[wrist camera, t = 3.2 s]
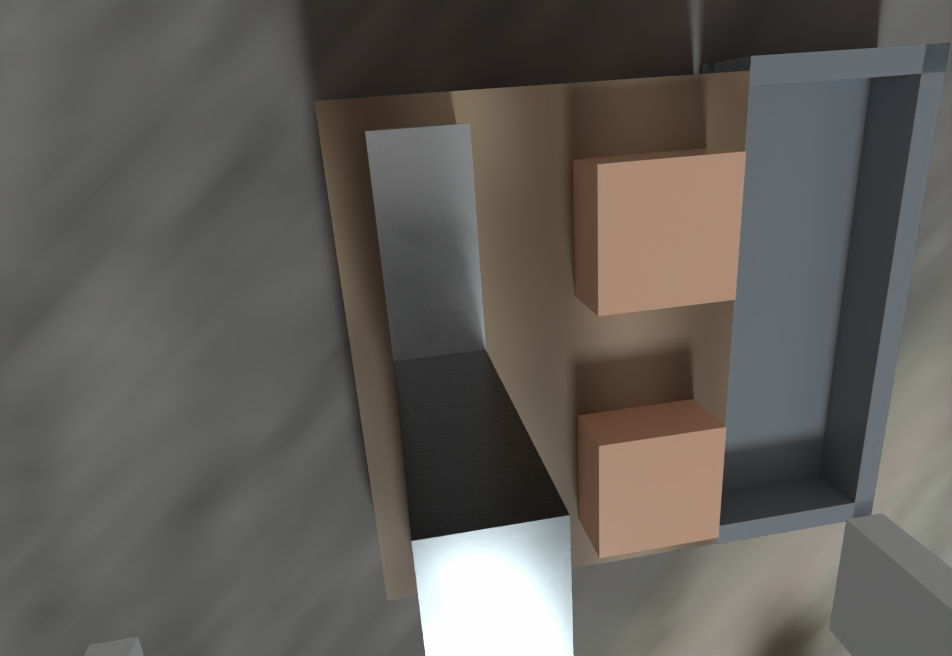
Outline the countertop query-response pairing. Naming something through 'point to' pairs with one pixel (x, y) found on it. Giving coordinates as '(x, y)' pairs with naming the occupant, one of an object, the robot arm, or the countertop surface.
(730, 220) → the tile
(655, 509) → the tile
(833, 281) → the tray
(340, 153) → the board
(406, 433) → the grey bar
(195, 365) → the countertop surface
